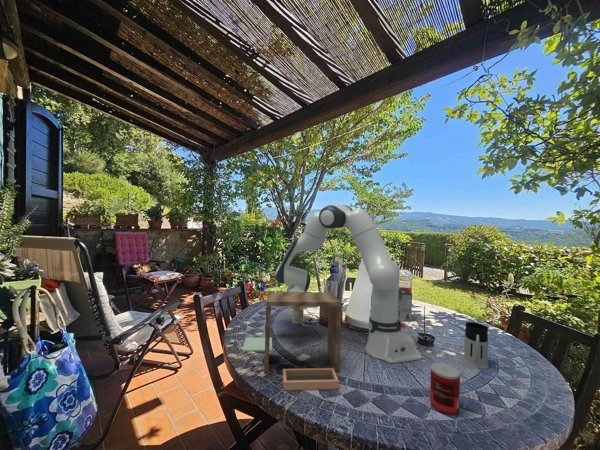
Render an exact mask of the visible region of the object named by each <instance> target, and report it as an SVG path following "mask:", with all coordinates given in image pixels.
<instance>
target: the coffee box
mask: <svg viewBox="0 0 600 450" xmlns="http://www.w3.org/2000/svg"><path fill="white" fill-rule="evenodd" d="M412 308H413V294H412V291H411V290H408V289H407V290H406V289H399V294H398V314H397V318H398V320H399V321H401V322H405V323H406V322H407V323H412V310H413V309H412Z"/></svg>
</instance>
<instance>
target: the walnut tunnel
mask: <svg viewBox="0 0 600 450" xmlns="http://www.w3.org/2000/svg"><path fill="white" fill-rule="evenodd" d="M265 302H266V304H265V305H266V307H265V308H266V309H265V331H264V332H265V335H264V338H265V351H264V365H263V366H264V367H263V369H264V370H263V375H269V370H270V368H269V367H270V351H269V345H270V338H271V315H272V314H271V313H272V309H271V308H272V307H275V306H319V307H328V328H327V330H328V331H327V333H328V334H327V356H328V357H327V358H328V359H329V360H330V364H331V366H332V368H334V370H335V373H336V374H338V373H340V360H341V359H340V358H341V353H340V352H341V329H342V327H341V325H342V301H341V299H339V297H338V296H337V295H336V294H335V293H334V292H332V291H331V292H325V291H324V292H320V291H318V292H317V291H307V292H286V291H267V293H266V301H265Z"/></svg>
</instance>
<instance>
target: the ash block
mask: <svg viewBox="0 0 600 450" xmlns="http://www.w3.org/2000/svg"><path fill="white" fill-rule="evenodd" d="M304 311H305V309H304V306H293V309H292V313H291V314H292V316H291V320H292V321H291V322H292V324H304Z"/></svg>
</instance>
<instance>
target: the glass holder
mask: <svg viewBox="0 0 600 450" xmlns="http://www.w3.org/2000/svg"><path fill="white" fill-rule="evenodd" d="M464 331H465V332H464V348H463V349H464V350H463V358H462V361H463V362H464V364H466V365H468V366H470V367H473V368H477V369H483V370H486V369H488V368H490V367H489V364H488V358H489V357H488V356H489V354H488V351H489V338H488V336H489V335H488V334H489V327H488V326H487V325H485V324H482V323H479V322H472V321H471V322H470V321H469V322H465V330H464Z"/></svg>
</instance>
